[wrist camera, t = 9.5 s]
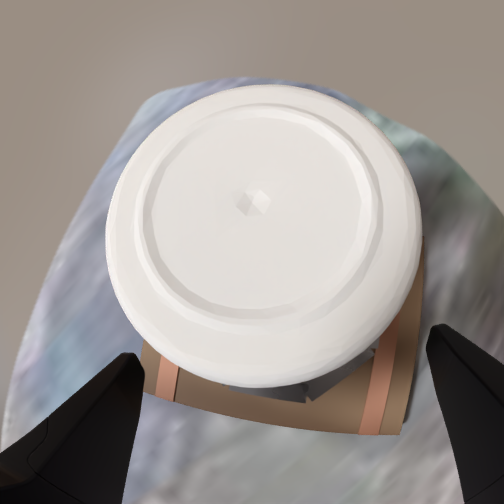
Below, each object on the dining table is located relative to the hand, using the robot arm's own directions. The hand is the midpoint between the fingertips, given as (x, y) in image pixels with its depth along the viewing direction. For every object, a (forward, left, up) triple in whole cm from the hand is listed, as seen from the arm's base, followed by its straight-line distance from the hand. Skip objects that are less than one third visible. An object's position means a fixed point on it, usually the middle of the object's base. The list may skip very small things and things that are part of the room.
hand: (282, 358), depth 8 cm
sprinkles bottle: (+2, 0, -8) cm, 9 cm away
